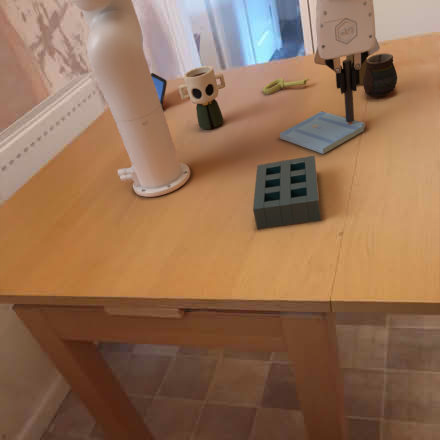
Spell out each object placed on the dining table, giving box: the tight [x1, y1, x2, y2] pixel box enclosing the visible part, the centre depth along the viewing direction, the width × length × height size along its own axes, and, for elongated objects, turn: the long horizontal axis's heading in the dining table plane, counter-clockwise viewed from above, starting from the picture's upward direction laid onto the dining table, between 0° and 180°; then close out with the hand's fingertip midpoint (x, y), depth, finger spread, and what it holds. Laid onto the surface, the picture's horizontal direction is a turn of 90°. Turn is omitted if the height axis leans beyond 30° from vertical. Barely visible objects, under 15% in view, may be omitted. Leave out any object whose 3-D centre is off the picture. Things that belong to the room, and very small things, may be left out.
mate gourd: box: [362, 52, 398, 99], centre depth 104 cm, size 7×8×10 cm
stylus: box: [341, 59, 355, 125], centre depth 93 cm, size 2×2×13 cm
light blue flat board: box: [279, 110, 366, 155], centre depth 99 cm, size 14×12×1 cm
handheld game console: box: [150, 72, 168, 111], centre depth 135 cm, size 12×11×7 cm
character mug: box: [178, 65, 226, 130], centre depth 113 cm, size 11×7×13 cm, turn 97°
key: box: [262, 77, 310, 95], centre depth 124 cm, size 7×12×2 cm, turn 73°
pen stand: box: [252, 155, 322, 230], centre depth 82 cm, size 11×15×4 cm
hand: (348, 89), depth 93 cm, fingers closed on stylus, 1 cm apart
